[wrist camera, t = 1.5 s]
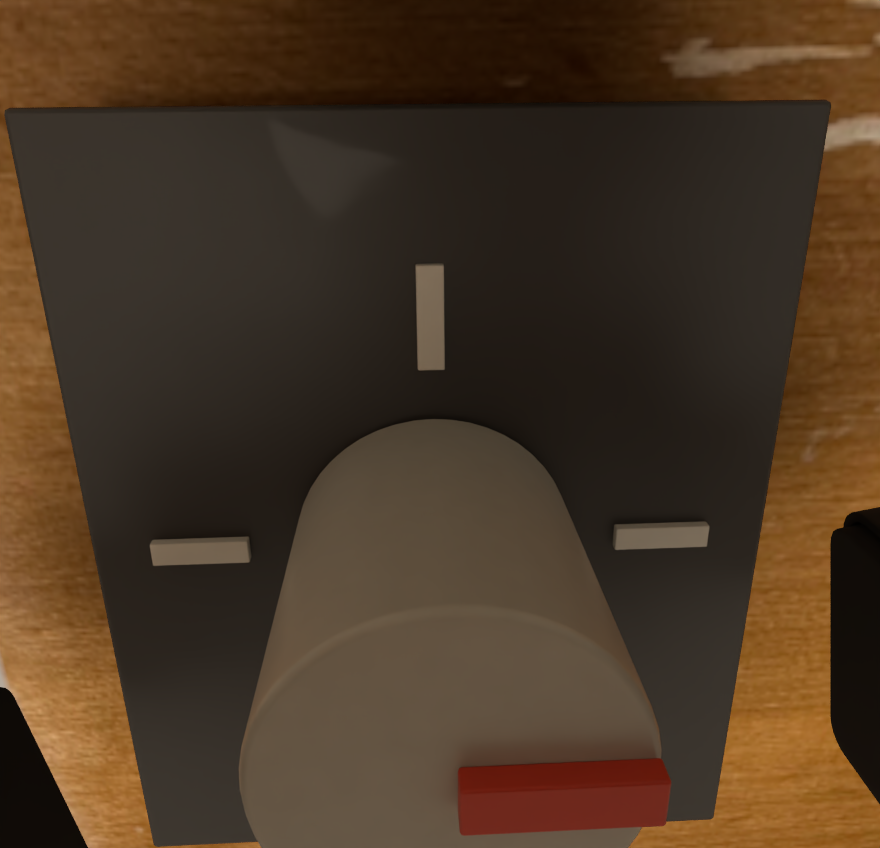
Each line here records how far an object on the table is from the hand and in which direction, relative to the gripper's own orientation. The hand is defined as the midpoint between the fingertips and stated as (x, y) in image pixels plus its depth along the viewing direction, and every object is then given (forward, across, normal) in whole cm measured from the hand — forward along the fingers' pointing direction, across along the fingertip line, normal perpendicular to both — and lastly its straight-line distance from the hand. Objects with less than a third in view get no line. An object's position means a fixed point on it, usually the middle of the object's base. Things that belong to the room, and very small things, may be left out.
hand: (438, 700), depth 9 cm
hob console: (+6, 0, 0) cm, 6 cm away
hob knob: (+3, 0, 0) cm, 3 cm away
